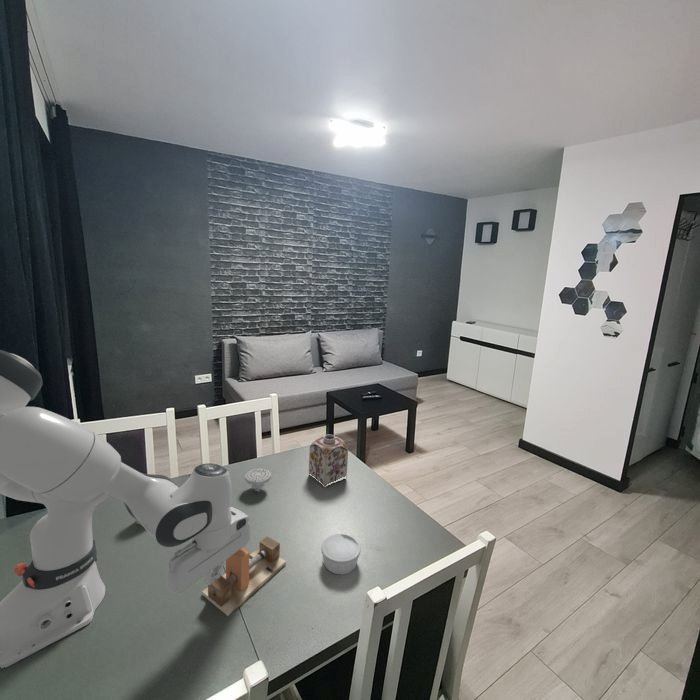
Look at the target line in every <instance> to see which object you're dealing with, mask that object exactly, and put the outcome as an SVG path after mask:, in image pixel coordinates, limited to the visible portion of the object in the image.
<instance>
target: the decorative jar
mask: <svg viewBox="0 0 700 700" xmlns="http://www.w3.org/2000/svg"><path fill="white" fill-rule="evenodd" d="M308 455H309V458H308V475H309V474H311V475H312V476H314V477H315V478H316V479H317V480H318V481H320V482H321V483H322V484H323V485H324V486H326V485H327V484H329V483H331V482H334V481H336V480H338V479H340V478H342V477H345V476H346V477H347V476H348V475H347V474H348V462H349V461H348V458H349V449H348V446H347V445H346V443H345V441H344V440H343V439H342V438H340V437H338V436H336V435H333V434H325V435H324V436H320V437H317V438H316V439H315V440H314V441H313V442H312V443H311V444H310V446H309V454H308Z"/></svg>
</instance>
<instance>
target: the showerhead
mask: <svg viewBox="0 0 700 700" xmlns="http://www.w3.org/2000/svg"><path fill="white" fill-rule="evenodd" d="M271 476H272V474H271V471H269V469H265V468H254V469H253V468H252V469H251V470H249V471H247V473H245V475H244V480H245V482H246V484H249V485H251V487H252V489H254V491H255V492H256V491H258V493H259V492H261V491H260V490H262V488H264V486H265V484H267V483H269V481H270V480H271V478H272V477H271Z"/></svg>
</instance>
